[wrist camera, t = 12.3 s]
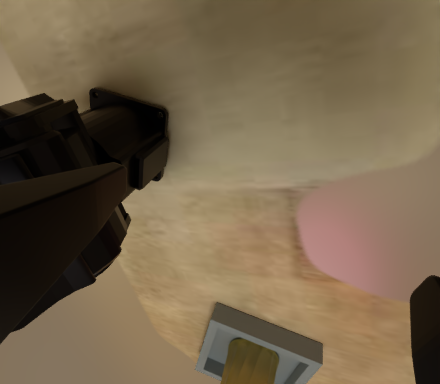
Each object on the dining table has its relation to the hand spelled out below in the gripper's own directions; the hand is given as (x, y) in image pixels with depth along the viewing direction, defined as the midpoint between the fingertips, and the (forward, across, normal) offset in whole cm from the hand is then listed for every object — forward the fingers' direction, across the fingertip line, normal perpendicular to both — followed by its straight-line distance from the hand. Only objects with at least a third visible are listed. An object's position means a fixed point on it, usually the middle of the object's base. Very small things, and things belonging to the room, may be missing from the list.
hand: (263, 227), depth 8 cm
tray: (+13, -5, +29) cm, 32 cm away
